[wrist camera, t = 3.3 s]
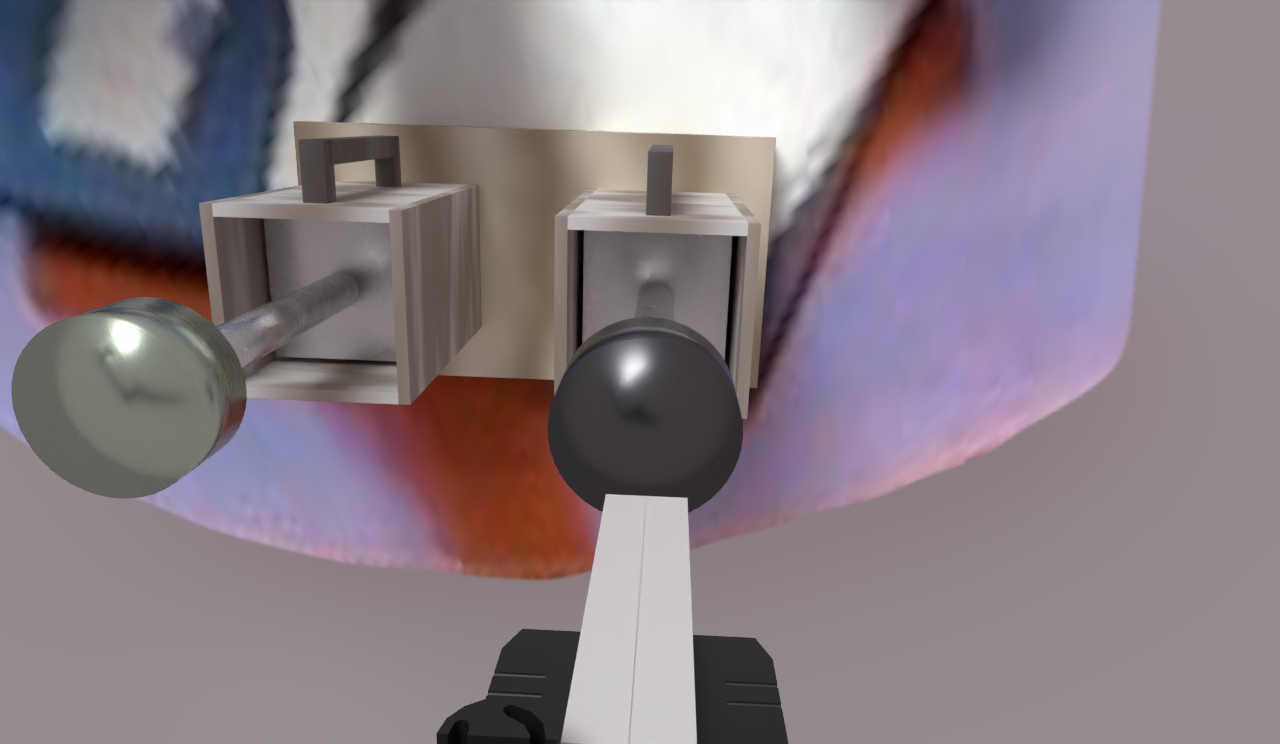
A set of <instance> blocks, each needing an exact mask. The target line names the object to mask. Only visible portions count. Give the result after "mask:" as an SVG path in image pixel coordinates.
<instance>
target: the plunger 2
mask: <svg viewBox="0 0 1280 744" xmlns="http://www.w3.org/2000/svg"><path fill="white" fill-rule="evenodd" d="M731 250H732V236H729V235H702V234H675V233H648V232H620V231H593V230H584V265H583V338H582V345H581V346H580V347H579V348H578V349H577V351H576V352H575V354H574V355H573V356H572V358H571V360H570V362H569V363H568V365H567V367H566V370H565V372H564V374H563V377H562V379H561V381H560V384H559V386H558V389H557V391H556V393H555V396H554V399H553V402H552V404H551V408H550V413H549V419H548V439H549V445H550V450H551V454H552V456H553V459H554V462H555V465H556V466H557V468H558V470H559V472H560V474H561V476H562V477H563V479H564V480H565V482H566V483H567V484H568V485H569V487H570V488H571V489H572V490H573V491H574V492H575V493H576V494H577V495H578V496H579V497H580V498H582V499H583V500H584V501H585V502H587V503H588V504H590V505H591V506H593V507H594V508H596V509H598V510H600V511H602V512H603V507H604V502H605V496H606V494H614V495H636V496H658V497H680V498H687V499H688V513H689V512H691V511H693V510H694V509H696V508H698V507H700V506H701V505H703V504H704V503H705V502H707V501H708V500H710V499H711V498H712V497H713V496H714V495H715V494H716V493H717V492H718V491H719V490H720V489H721V488H722V487H723V485H724V484H725V483H726V482H727V480H728V478H729V477H730V475H731V474H732V472H733V470H734V468H735V465H736V463H737V461H738V458H739V454H740V451H741V445H742V438H743V424H742V417H741V411H740V407H739V403H738V399H737V395H736V390H735V386H734V383H733V379H732V376H731V373H730V371H729V368H728V366H727V364H726V362H725V345H726V329H727V313H728V298H729V282H730V266H731Z"/></svg>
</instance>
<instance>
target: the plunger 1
mask: <svg viewBox="0 0 1280 744" xmlns="http://www.w3.org/2000/svg"><path fill="white" fill-rule="evenodd" d="M263 219H264V230H265V241H266V252H267V263H268V274H269V284H270V295H271V302H269V303H266V304H264V305H262V306H260V307H258V308H255V309H253V310H251V311H249V312H247V313H244V314H242V315H240V316H238V317H236V318H233V319H231V320H229V321H227V322H224V323H222V324H220V325H218V326H216V327H215V326H214V325H213V324H212V323H211V322H210V321H208V320H207V319H206V318H205V317H203V316H202V315H200V314H198V313H197V312H195V311H194V310H192V309H190V308H188V307H186V306H184V305H181V304H178V303H175V302H173V301H169V300H164V299H159V298H149V297H147V298H133V299H127V300H123V301H120V302H117V303H114V304H111V305H108V306H105V307H102V308H99V309H96V310H93V311H90V312H87V313H84V314H81V315H77V316H74V317H71V318H68V319H65V320H62V321H59V322H56V323H54V324H52V325H50V326H48V327H46V328H45V329H43V330H42V331H41V332H39V333H38V334H36V335H35V336H34V337H33V338H32V339H31V340H30V341H29V342H28V344H27V345H26V347H25V348H24V349H23V351H22V352H21V354H20V356H19V358H18V360H17V363H16V366H15V369H14V373H13V379H12V402H13V408H14V412H15V416H16V419H17V422H18V424H19V427H20V429H21V431H22V433H23V435H24V437H25V439H26V441H27V442H28V444H29V445H30V447H31V448H32V450H33V451H34V452H35V453H36V455H37V456H38V457H39V458H40V459H41V460H42V462H44V463H45V464H46V465H47V466H48V467H49V468H50V469H51V470H52V471H54V472H55V473H56V474H57V475H59V476H60V477H62V478H63V479H64V480H66V481H68V482H69V483H71V484H73V485H75V486H77V487H79V488H81V489H83V490H86V491H89V492H91V493H95V494H98V495H102V496H107V497H113V498H137V497H144V496H148V495H151V494H155V493H157V492H159V491H162V490H164V489H166V488H167V487H169V486H171V485H172V484H174V483H175V482H177V481H178V480H179V479H181V478H182V477H183V476H185V475H186V474H188V473H189V472H190V471H192V470H193V469H194V468H196V467H197V466H198V465H200V464H201V463H203V462H204V461H205V460H207V459H208V458H209V457H211V456H212V455H214V454H215V453H216V452H218V451H219V450H220V449H221V448H223V447H224V446H225V445H226V444H227V443H228V442H229V441H230V440H231V439H232V437H233V436H234V435H235V433H236V432H237V430H238V428H239V426H240V424H241V422H242V419H243V416H244V412H245V408H246V400H247V390H246V382H245V376H244V372H243V368H244V367H246V366H248V365H249V364H251V363H253V362H255V361H256V360H258V359H260V358H261V357H263V356H265V355H267V354H268V353H270V352H272V351H274V350H275V349H276V357H300V358H324V359H349V360H374V361H396V344H395V324H394V304H393V285H392V265H391V245H390V226H389V223H376V222H348V221H321V220H294V219H267V218H263Z"/></svg>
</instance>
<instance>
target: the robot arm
mask: <svg viewBox="0 0 1280 744" xmlns="http://www.w3.org/2000/svg"><path fill="white" fill-rule="evenodd" d="M689 553H690V551H689V525H688V499H687V498H680V497H658V496H636V495H614V494H606V496H605V502H604V507H603V513H602V518H601V524H600V529H599V535H598V540H597V546H596V551H595V557H594V562H593V567H592V573H591V578H590V584H589V589H588V596H587V601H586V606H585V612H584V617H583V622H582V628H581V632H572V631H554V630H534V629H522V630H521V631H520V632H519V633H518V634H517V635H515V636H514V637H513V638H512V639H511V640H510V641H509V642H508V643H507V644H506V645H505V646H504V647H503V648H502V650H501V653H500V657H499V660H498V663H497V666H496V669H495V673H494V676H493V678H492V681H491V684H490V687H489V690H488V696H486V699H484V700H482V701H479V702H476V703H473V704H470V705H467V706H464V707H463V708H461V709H460V710H458V711H457V712H455V713H454V714H453V715H451V716H449V717H448V718H447V719H446V720H445V722H444V723H443V725H442V726H441V728H440V729H439V731H438V732H437V744H788V739H787V734H786V729H785V723H784V718H783V712H782V709H781V702H780V697H779V691H778V688H777V680H776V675H775V669H774V665H773V659H772V658H771V657H770V656H769V655H768V653H767V652H766V651H765V650H764V648H763V647H762V646H761V645H760V644H759V642H758V641H757V640H756V639H755V638H743V637H723V636H721V637H720V636H703V635H701V636H700V635H693V629H692V604H691V579H690V578H691V577H690V554H689Z"/></svg>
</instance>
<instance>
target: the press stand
mask: <svg viewBox="0 0 1280 744" xmlns="http://www.w3.org/2000/svg"><path fill="white" fill-rule="evenodd" d="M294 135H295V147H296V160H297V172H298V185H299V186H294V187H289V188H283V189H277V190H271V191H266V192H260V193H254V194H249V195H243V196H237V197H231V198H226V199H220V200H214V201H209V202H203V203H199V208H200V217H201V226H202V235H203V244H204V252H205V261H206V270H207V279H208V288H209V297H210V305H211V314H212V323H213V325H214V326H215V327H216V326H218V325H220V324H222V323H224V322H227V321H229V320H231V319H233V318H236V317H238V316H240V315H242V314H244V313H247V312H249V311H251V310H253V309H255V308H258V307H260V306H262V305H264V304H266V303H269V302H271V295H270V284H269V274H268V263H267V252H266V241H265V230H264V219H263V218H267V219H294V220H321V221H348V222H376V223H389V226H390V245H391V265H392V285H393V304H394V324H395V344H396V361H374V360H349V359H324V358H300V357H276V349H275V350H274V351H272V352H270V353H268V354H267V355H265V356H263V357H261V358H260V359H258V360H256V361H255V362H253V363H251V364H249V365H248V366H246V367H244V368H243V372H244V376H245V382H246V390H247V398H257V399H281V400H305V401H329V402H353V403H377V404H401V405H411V404H412V403H413V402H414V401H415V399H416V398H417V397H418V396H419V395H420V394H421V393H422V392H423V391H424V390H425V388H426V387H427V386H428V385H429V384H430V383H431V382H432V381H433V380H434V379H435V378H436V376H437V375H448V376H472V377H497V378H521V379H546V380H554V396H555V393H556V391H557V389H558V386H559V384H560V381H561V379H562V377H563V374H564V372H565V370H566V367H567V365H568V363H569V362H570V360H571V358H572V356H573V355H574V354H575V352H576V351H577V349H578V348H579V347H580V346H581V345H582V338H583V265H584V230H593V231H620V232H648V233H675V234H702V235H729V236H732V250H731V266H730V282H729V298H728V313H727V329H726V345H725V362H726V364H727V366H728V368H729V371H730V373H731V376H732V379H733V383H734V386H735V390H736V395H737V399H738V403H739V407H740V411H741V417H742V419H747V414H748V401H749V388H757V384H758V370H759V357H760V344H761V330H762V317H763V304H764V290H765V277H766V264H767V250H768V237H769V224H770V210H771V197H772V184H773V170H774V157H775V143H776V138H773V137H749V136H720V135H691V134H661V133H632V132H603V131H573V130H544V129H515V128H485V127H456V126H426V125H397V124H368V123H338V122H309V121H295V122H294Z"/></svg>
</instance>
